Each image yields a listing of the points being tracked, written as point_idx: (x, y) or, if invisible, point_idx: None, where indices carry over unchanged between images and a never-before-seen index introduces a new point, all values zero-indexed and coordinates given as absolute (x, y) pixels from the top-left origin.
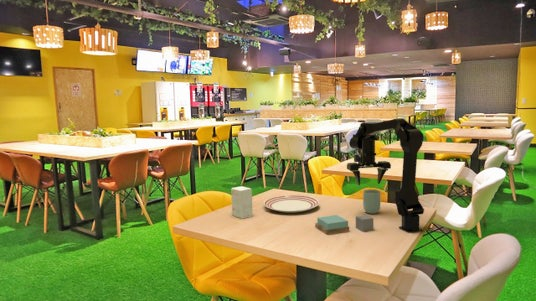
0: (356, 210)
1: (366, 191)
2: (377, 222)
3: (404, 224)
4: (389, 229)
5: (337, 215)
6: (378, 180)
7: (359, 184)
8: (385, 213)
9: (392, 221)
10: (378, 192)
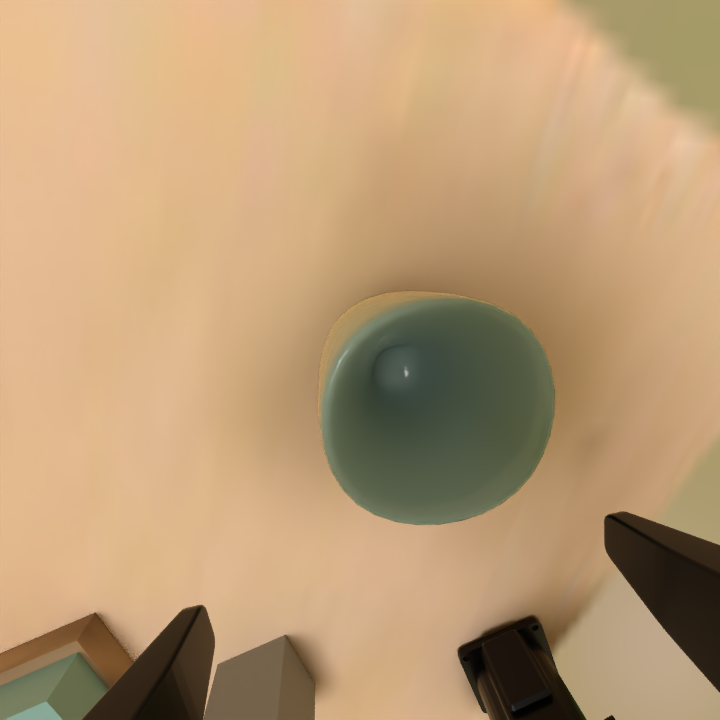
0: (273, 285)
1: (382, 333)
2: (369, 566)
3: (486, 710)
4: (402, 668)
5: (53, 712)
6: (677, 611)
7: (202, 671)
8: None
9: (464, 544)
10: (527, 395)
